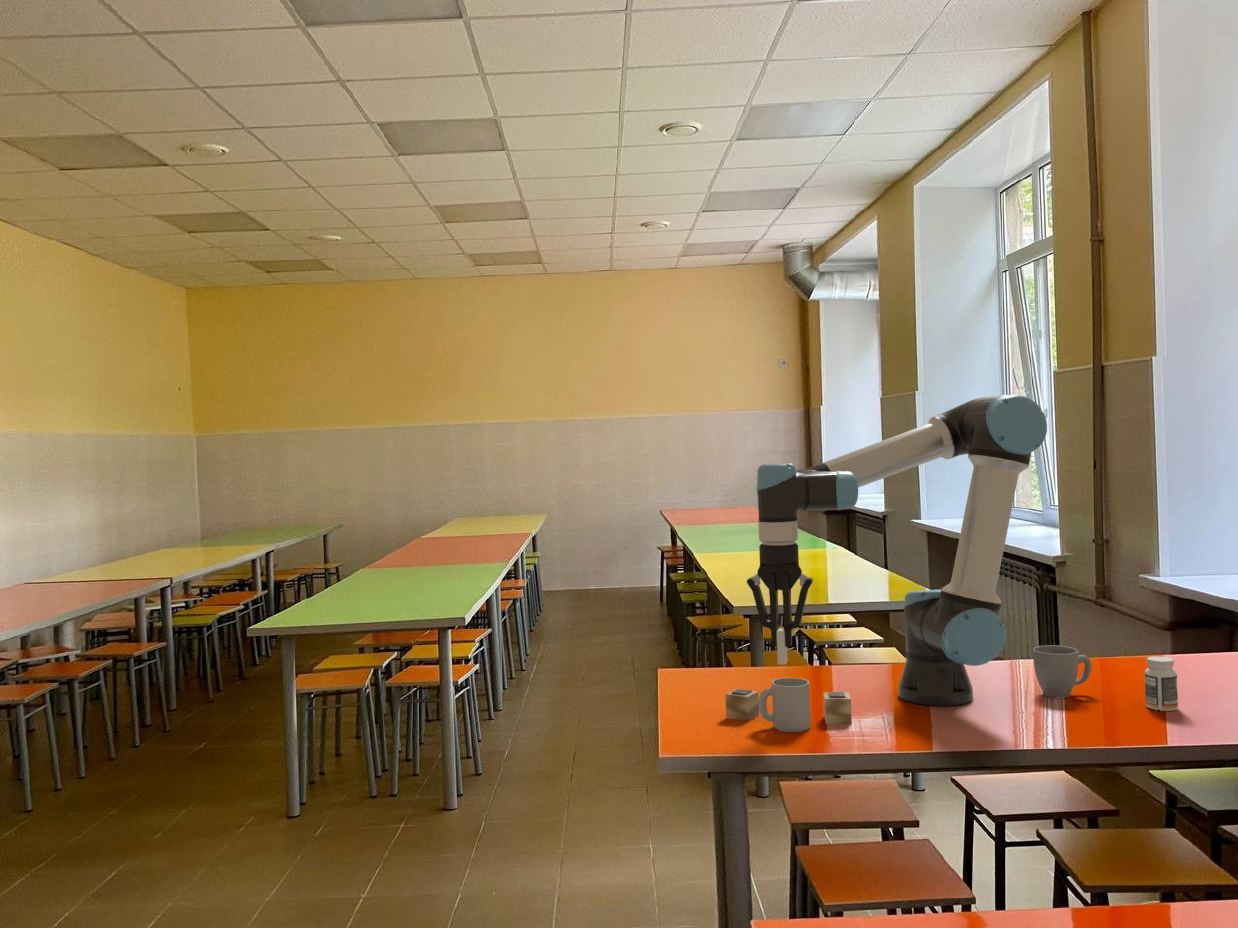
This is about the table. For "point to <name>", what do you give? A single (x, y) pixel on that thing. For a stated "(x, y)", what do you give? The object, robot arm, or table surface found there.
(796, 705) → the cup
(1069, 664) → the mug
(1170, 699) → the pill bottle
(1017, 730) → the table surface
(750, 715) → the oak block
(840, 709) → the oak block
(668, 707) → the table surface
